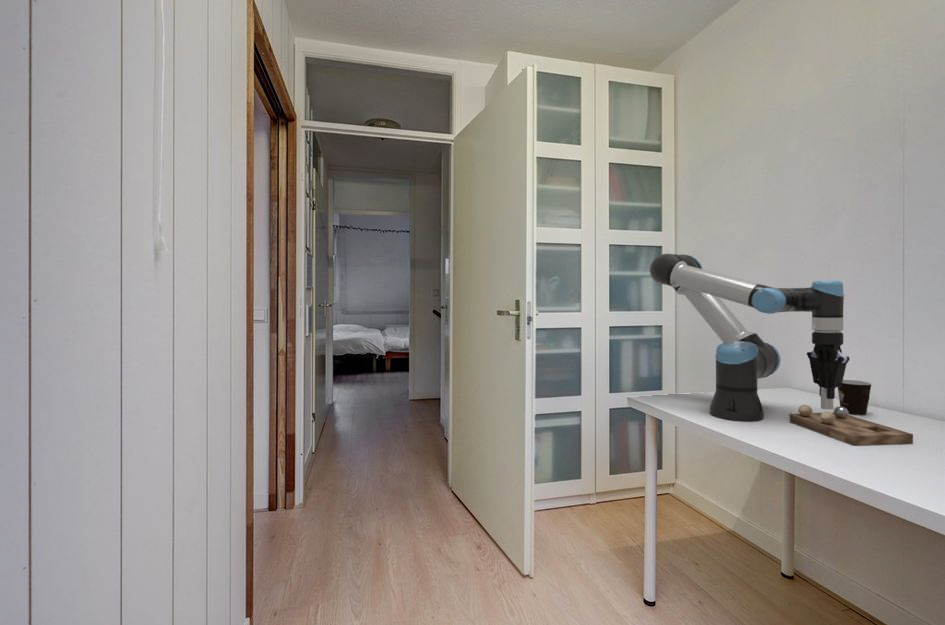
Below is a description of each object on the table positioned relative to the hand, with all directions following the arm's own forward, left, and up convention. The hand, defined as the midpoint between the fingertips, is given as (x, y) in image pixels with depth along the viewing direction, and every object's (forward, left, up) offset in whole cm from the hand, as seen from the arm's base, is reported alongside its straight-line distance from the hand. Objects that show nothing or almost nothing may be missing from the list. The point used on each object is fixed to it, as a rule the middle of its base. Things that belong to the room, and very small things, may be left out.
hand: (827, 408), depth 138 cm
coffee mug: (+16, +8, -4) cm, 18 cm away
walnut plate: (-3, -10, -4) cm, 11 cm away
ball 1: (-9, -2, 0) cm, 9 cm away
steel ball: (0, -5, 0) cm, 5 cm away
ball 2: (-9, -10, 0) cm, 13 cm away
